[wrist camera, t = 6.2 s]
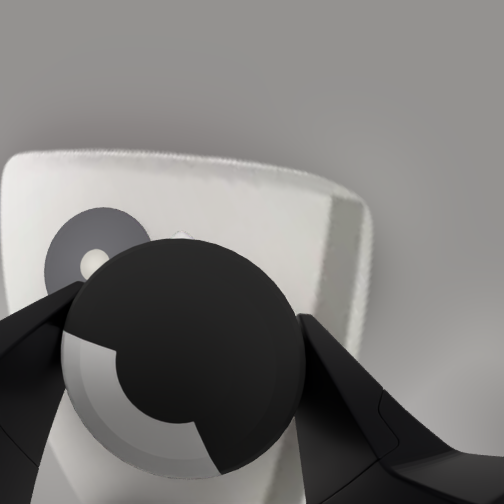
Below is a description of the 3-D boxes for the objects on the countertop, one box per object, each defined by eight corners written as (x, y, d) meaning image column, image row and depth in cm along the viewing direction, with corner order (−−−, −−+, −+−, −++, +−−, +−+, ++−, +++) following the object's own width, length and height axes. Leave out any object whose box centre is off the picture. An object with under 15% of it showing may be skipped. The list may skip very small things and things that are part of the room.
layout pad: (173, 303, 20) (172, 302, 20) (63, 345, 18) (61, 345, 18) (135, 192, 22) (134, 190, 22) (37, 234, 20) (36, 233, 20)
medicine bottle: (190, 267, 19) (164, 152, 7) (281, 341, 18) (392, 334, 7) (116, 354, 16) (-12, 359, 5) (208, 430, 16) (208, 551, 4)
